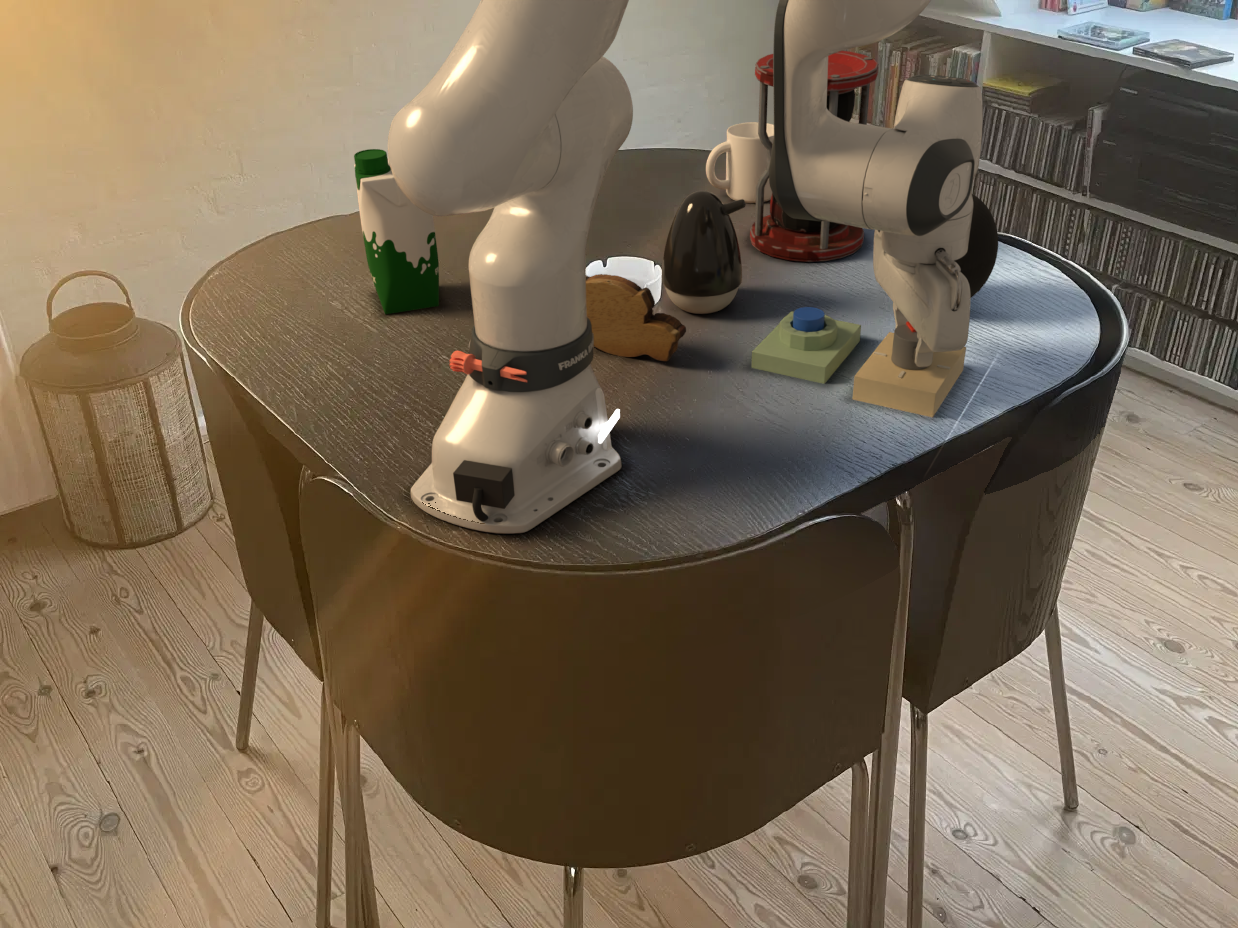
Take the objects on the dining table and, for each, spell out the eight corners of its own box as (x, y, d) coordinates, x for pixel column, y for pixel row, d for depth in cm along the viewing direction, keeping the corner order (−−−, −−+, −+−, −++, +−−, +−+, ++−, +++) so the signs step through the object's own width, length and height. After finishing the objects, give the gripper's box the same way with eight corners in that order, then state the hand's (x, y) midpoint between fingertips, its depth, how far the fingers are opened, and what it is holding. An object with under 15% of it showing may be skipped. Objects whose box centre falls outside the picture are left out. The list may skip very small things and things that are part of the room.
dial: (937, 368, 129) (941, 337, 127) (898, 371, 128) (902, 340, 126) (923, 350, 132) (927, 319, 130) (886, 353, 132) (889, 322, 130)
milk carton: (369, 292, 158) (346, 146, 147) (436, 282, 160) (418, 137, 149) (379, 319, 151) (355, 167, 140) (448, 308, 153) (430, 157, 142)
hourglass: (736, 226, 174) (740, 53, 161) (840, 216, 176) (852, 44, 163) (769, 268, 161) (776, 82, 147) (880, 256, 163) (898, 72, 150)
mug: (715, 210, 180) (716, 144, 174) (696, 193, 187) (696, 129, 181) (787, 199, 183) (790, 134, 177) (765, 183, 190) (767, 119, 184)
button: (817, 336, 135) (818, 322, 134) (788, 330, 136) (788, 316, 136) (828, 323, 138) (829, 310, 137) (799, 318, 139) (800, 304, 138)
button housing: (824, 384, 133) (826, 352, 131) (751, 368, 137) (752, 337, 134) (860, 341, 141) (862, 311, 139) (790, 327, 145) (791, 297, 143)
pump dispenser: (738, 325, 146) (741, 208, 138) (655, 320, 148) (653, 204, 140) (747, 291, 154) (750, 179, 146) (669, 287, 156) (668, 176, 148)
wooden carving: (692, 356, 139) (693, 278, 134) (677, 373, 136) (676, 294, 131) (570, 333, 146) (566, 257, 140) (553, 348, 142) (547, 272, 137)
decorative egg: (926, 277, 157) (939, 167, 149) (1008, 304, 149) (1026, 189, 141) (869, 305, 150) (879, 191, 142) (951, 335, 142) (967, 217, 134)
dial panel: (932, 417, 126) (936, 392, 124) (852, 399, 130) (854, 374, 128) (963, 370, 134) (966, 345, 133) (886, 354, 138) (889, 330, 137)
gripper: (994, 269, 114) (975, 393, 121) (922, 198, 131) (909, 311, 139) (931, 274, 113) (916, 399, 121) (867, 202, 131) (857, 315, 138)
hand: (912, 351), depth 130 cm, fingers closed on dial, 4 cm apart
